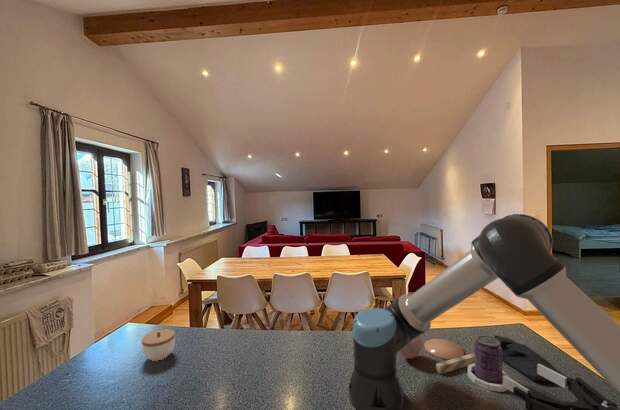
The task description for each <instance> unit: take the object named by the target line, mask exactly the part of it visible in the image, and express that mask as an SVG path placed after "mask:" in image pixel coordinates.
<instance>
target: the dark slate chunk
mask: <svg viewBox="0 0 620 410" xmlns="http://www.w3.org/2000/svg"><path fill="white" fill-rule="evenodd" d="M493 338H495V339H497V340H499V341H500V346H501V348H502V362H504V363H507V364H508V365H509V366H511V367H512V368H513V369H514V370H517V371H518V372H519V373H520V374H522V375H524V376H526V377H527V378H529V379H531V380H532V381H535V382H536V381H537V382H538V381H539V382H552V381H550V380H548V379H546V378H544V377H543V376H541V375H539V374H537V364H541V365H543V366H545V367H547V368H549V369H551V370H553V371H555V372H557V373H559V374H561V375H563V376H565V377H567V378H570V377H569V376H567V375H566V374H564V373H562V372H561V371H560V370H559V369H557V368H556V367H555V366H554V365H553V364H551V363H550V362H549V361H547V360H546V359H545V358H544V357H542V356H541V355H540V354H539V353H538V352H536V351H534V350H533V349H532V348H530V347H529V346H527V345H525V344H523V343H522V344H521V343H520V342H517V341H515V340H514V339H511V338H509V337H505V336H500V335H494V337H493Z"/></svg>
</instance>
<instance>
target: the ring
mask: <svg viewBox="0 0 620 410" xmlns="http://www.w3.org/2000/svg"><path fill="white" fill-rule="evenodd" d="M466 372H467V378H468V379H469V380H470V381H471V382H472V383H474V384H475V385H477V387H478V386H479V387H481V388H483V389H484V390H488V391H491V392H492V391H493V392H500V393H504V392H505V391H509V390H508V389H507V388H505V387H504V386H503V382H502V383H500V384H493V383H487V382H485V381H483V380H481V379H479V378H478V377H477V376H476V375H475V373H473V372H475V363H474V364H471V365H468V366H467V371H466ZM504 375H505V376H507V377H509V378H510V379H511V376H510V375H509V374H508V373H506V371H504V370H503V369H502V379H503V376H504Z"/></svg>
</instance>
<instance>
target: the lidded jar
mask: <svg viewBox="0 0 620 410" xmlns="http://www.w3.org/2000/svg"><path fill="white" fill-rule="evenodd" d="M175 340H176V332H175V330H173V329H169V328H165V329H164V328H163V329H159V330H154V331H152V332H149V333H147V334H146V335H144V336H143V337H142V339H141V344H142V351H143V354H144V356H145V357H146V358H147V359H148V360H150V361H151V360H152V361H151V362H154V361H156V362H159V361H158V360H161V361H163V360H165V359H167V358H168V357H169V356H170V354H171V353H172V352H173V351H174V347H175V345H176V344H175V343H176V341H175ZM168 355H169V356H168ZM167 356H168V357H167ZM166 357H167V358H166ZM164 358H165V359H164ZM162 359H163V360H162Z"/></svg>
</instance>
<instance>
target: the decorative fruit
mask: <svg viewBox="0 0 620 410" xmlns="http://www.w3.org/2000/svg"><path fill="white" fill-rule="evenodd" d="M422 347H423V340H422V339H421V337H420V336H418V337H417V338H415V339H413V340H412V341H411V342H409V343H408V344H407V345H406V346H404V347H403V348H402V349H401V350H400V351H399V353H400V354H401V355H402V356H403V357H404V358H406V359H410V360H411V359H415V358H417V357H418V356H419V354H420V352H421V350H422Z"/></svg>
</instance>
